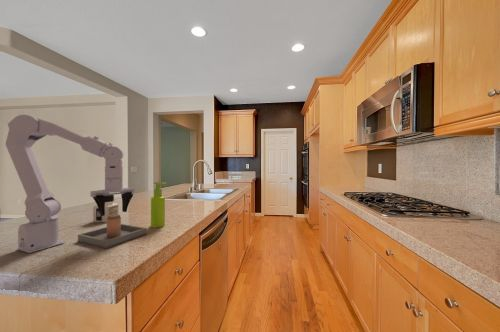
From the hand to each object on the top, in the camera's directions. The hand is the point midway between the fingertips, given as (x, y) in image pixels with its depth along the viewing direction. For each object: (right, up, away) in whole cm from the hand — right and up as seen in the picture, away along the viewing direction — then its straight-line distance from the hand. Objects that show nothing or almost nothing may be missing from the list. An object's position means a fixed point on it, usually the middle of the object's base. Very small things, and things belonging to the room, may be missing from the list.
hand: (113, 213), depth 82 cm
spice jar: (0, -9, 0) cm, 9 cm away
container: (-20, -9, +25) cm, 33 cm away
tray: (0, -9, 0) cm, 9 cm away
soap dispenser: (+10, -9, +16) cm, 21 cm away
